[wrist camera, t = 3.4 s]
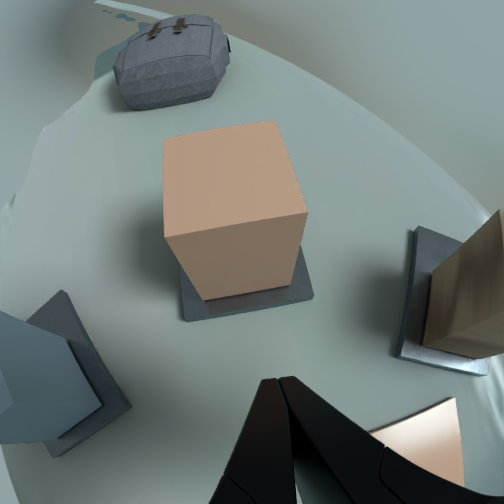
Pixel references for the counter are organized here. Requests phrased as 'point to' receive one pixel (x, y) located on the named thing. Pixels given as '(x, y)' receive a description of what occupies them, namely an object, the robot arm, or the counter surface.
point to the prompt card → (429, 440)
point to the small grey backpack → (172, 62)
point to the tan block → (232, 208)
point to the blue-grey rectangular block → (39, 384)
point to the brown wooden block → (470, 296)
